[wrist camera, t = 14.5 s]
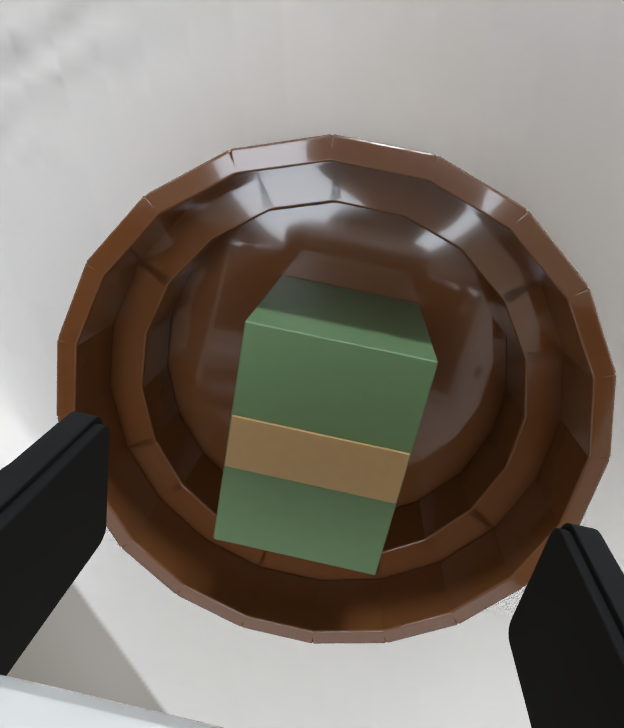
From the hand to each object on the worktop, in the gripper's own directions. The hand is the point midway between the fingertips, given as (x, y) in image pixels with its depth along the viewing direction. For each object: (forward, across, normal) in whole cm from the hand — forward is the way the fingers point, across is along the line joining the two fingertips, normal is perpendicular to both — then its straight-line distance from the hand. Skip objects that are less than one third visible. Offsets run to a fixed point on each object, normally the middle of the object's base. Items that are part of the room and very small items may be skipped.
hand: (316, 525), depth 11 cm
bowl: (+10, 0, +1) cm, 10 cm away
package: (+10, 0, +1) cm, 10 cm away
